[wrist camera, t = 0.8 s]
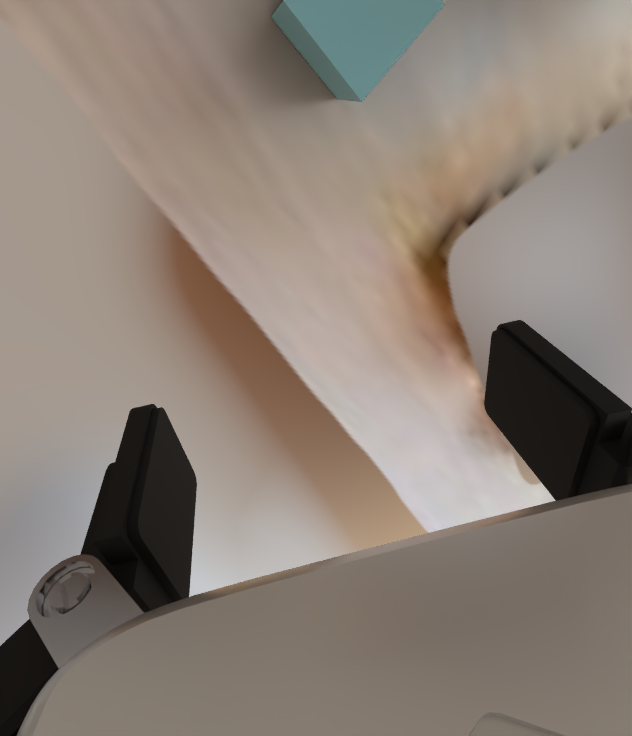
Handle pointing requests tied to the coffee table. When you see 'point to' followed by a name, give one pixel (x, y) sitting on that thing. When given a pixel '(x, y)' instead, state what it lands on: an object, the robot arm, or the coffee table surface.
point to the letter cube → (353, 37)
